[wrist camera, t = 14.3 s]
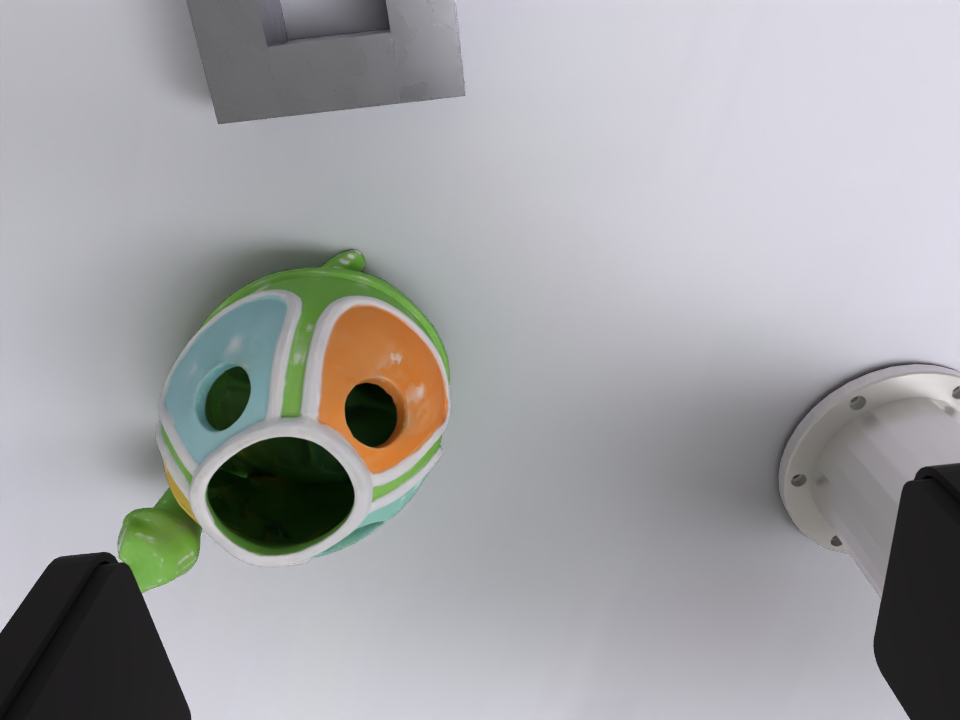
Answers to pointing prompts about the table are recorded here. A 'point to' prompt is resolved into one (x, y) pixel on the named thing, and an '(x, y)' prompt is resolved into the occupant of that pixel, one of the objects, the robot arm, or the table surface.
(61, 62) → the table surface
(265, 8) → the hitch block
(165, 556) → the turtle holder
